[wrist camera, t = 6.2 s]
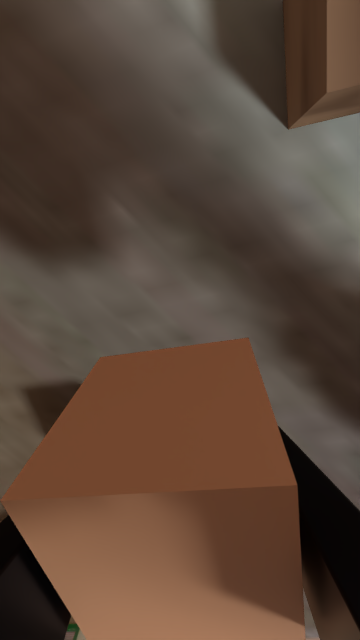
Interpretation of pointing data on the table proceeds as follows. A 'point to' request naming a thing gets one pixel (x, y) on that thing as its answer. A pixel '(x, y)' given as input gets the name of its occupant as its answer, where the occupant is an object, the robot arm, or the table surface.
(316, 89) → the walnut cube
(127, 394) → the terracotta cube
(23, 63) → the table surface
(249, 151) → the table surface
